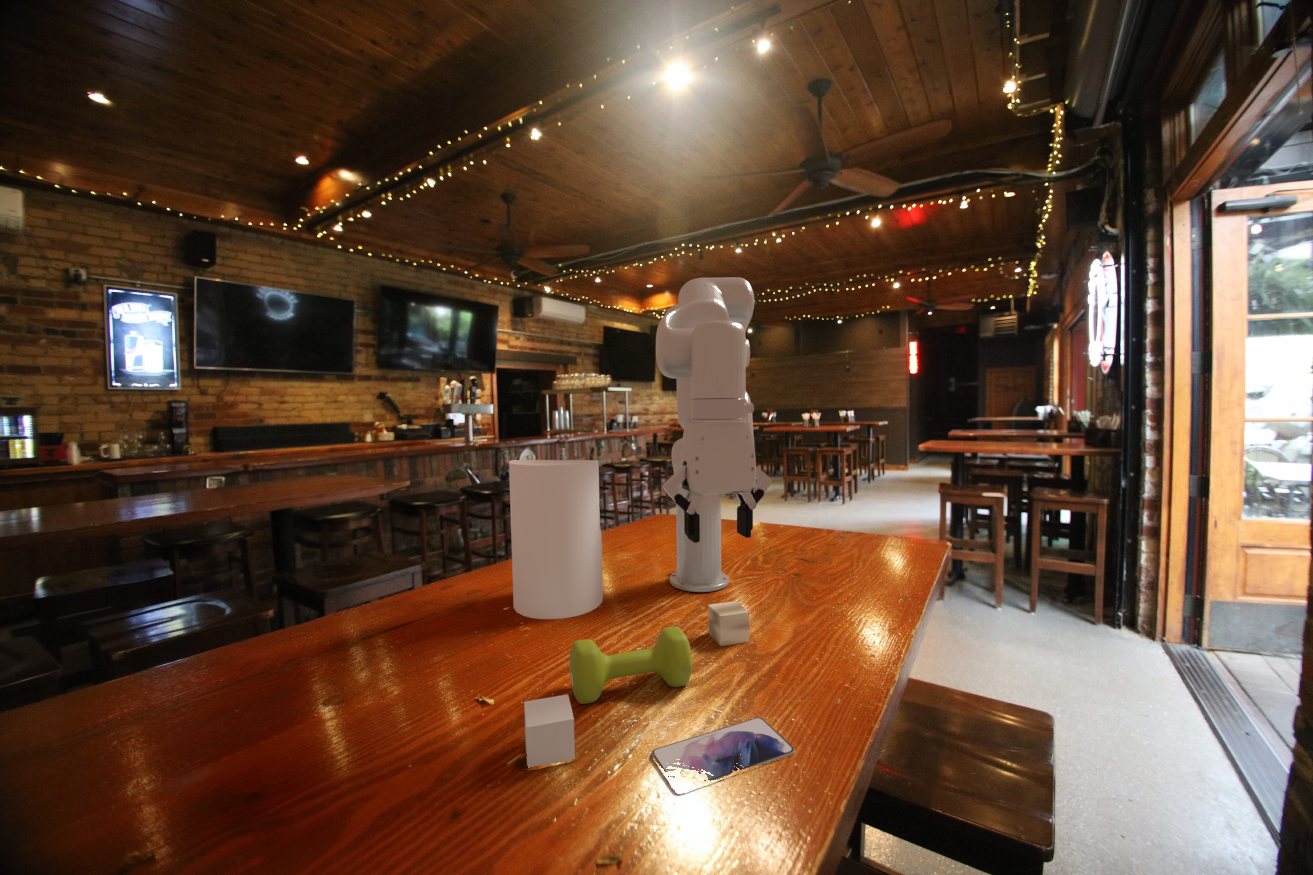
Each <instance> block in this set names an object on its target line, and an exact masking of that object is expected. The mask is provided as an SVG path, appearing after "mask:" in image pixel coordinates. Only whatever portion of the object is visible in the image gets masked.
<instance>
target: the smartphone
mask: <svg viewBox="0 0 1313 875" xmlns="http://www.w3.org/2000/svg"><path fill="white" fill-rule="evenodd" d="M794 753H795V754H796V749H795V747H794V746H793V745H792V744H791V743H790V742H788V740H786V739H785V738H784V737H783V735H781V734H780V733H779V732H778V731H777V730H776V729H775V728H774V727H773V726H771V725H770V724H769V723H768V721H766V719H764V718H763V717H754V718H751V719H748V720H744V721H741V722H738V723H734V724H731V725H728V726H724V727H721V728H718V729H716V730H715V729H714V730H711V731H709V732H705V733H702V734H699V735H695V736H692V737H690V738H689V737H688V738H686V739H683V740H679V741H676V742H673V743H669V744H666V745H663V746H662V745H661V746H659V747H655V748H654V749H653V750H652V751H651V753H650V756H651V755H652V757H653V758H654V759H655V761H656V762H657V763H658V764H659V766H661V768H663V769H664V771H665V772H668V771H674V770H676V769H666V768H667V767H668V766H672V767H677V768H678V767H679V768H684V769H689V770H696V771H699V772H698V773H699V774H701V772H703V771H701V769H703V770H705V771H706V772H710V773H711V774H713V775H714V776H711V775H709V774H707V773H705V774H706V775H707V777H708V780H710V781H711V780H716V779H717V780H718V779H720V778H723V777H724V776H728V775H730V774H731V773H732V772H733V771H732V770H734V771H737V770H738V769H737V768H739V769H740V770H742V769H746V768H750V767H753V766H758V765H759V766H760V765H764V764H767V763H769V762H773V761H775V760H778V759H782V758H784V757H787V758H789V757H788V756H790V755H791V754H794ZM740 754H741V755H740ZM795 754H794V755H795ZM652 757H651V758H652ZM790 757H791V756H790ZM741 758H742V759H741ZM676 759H680V760H676ZM784 759H785V758H784ZM782 760H783V759H782ZM677 762H679V763H681V764H680V765H677V764H673V763H677ZM667 763H668V764H667ZM683 763H684V764H683ZM736 763H738V764H736ZM773 763H774V762H773ZM683 765H685V766H683ZM686 765H687V766H686ZM740 765H742V766H743V767H744V768H743V767H742V766H740ZM688 766H689V767H688ZM734 766H735V767H734ZM692 767H694V768H692ZM736 767H737V768H736ZM698 769H699V770H698ZM681 771H682V770H681ZM700 771H701V772H700ZM680 773H681V772H680ZM668 777H669V776H668ZM670 777H673V778H675V776H670ZM704 781H706V780H704Z"/></svg>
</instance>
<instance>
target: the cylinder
mask: <svg viewBox="0 0 1313 875" xmlns="http://www.w3.org/2000/svg"><path fill="white" fill-rule="evenodd" d="M599 463H600V462H599V460H597V459H596V460H595V459H594V460H593V459H585V460H583V459H512V460H509V461H508V472H509V474H508V475H509V476H508V477H509V479H508V480H509V501H510V502H509V503H510V504H509V505H510V533H511V535H510V536H511V538H510V539H511V540H510V541H511V559H512V560H511V565H512V568H511V570H512V572H511V573H512V595H513V596H512V599H513V602H512V603H513V609H514V611H515V612H516V613H518V614H520V616H521V615H522V616H523V617H526V618H530V619H538V620H560V619H568V618H574V617H578V616H581V615H585V614H587V613H590V612H593V610H594V611H595V609H597V608H599V607H600V605H601V604H603V601H604V594H603V593H604V588H603V586H604V584H603V581H604V580H603V542H602V536H603V535H602V532H603V531H602V529H601V525H600V523H601V522H600V521H601V520H600V519H601V518H600V517H601V515H600V513H601V512H600V471H599V467H600V466H599V465H600V464H599Z"/></svg>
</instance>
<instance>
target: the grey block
mask: <svg viewBox="0 0 1313 875" xmlns="http://www.w3.org/2000/svg"><path fill="white" fill-rule="evenodd" d="M523 703H524V704H523V706H524V710H523V711H524V735H525V736H524V738H525V742H526V743H525V755H526V754H527V756H526V766H528V768H530V767H534V766H540V765H547V764H551V763H558V762H563V761H568V760H571V759H575V760H576V756H575V755H576V751H575V744H576V743H575V718H574V713H573V710H572V709H573V708H572V705H571V701H570V696H569V694H567V693H566V694H561V695H557V696H549V697H544V698H540V699H539V698H538V699H532V700H527V701H524V702H523Z"/></svg>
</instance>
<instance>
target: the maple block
mask: <svg viewBox="0 0 1313 875" xmlns="http://www.w3.org/2000/svg"><path fill="white" fill-rule="evenodd" d="M707 605H708V606H707V608H708V609H707V610H708V611H707V612H708V614H707V615H708V634H709V635H710V637H712V639H714V641H715V642H716V643H717V644H718V645H719V647H724V646H731V645H737V644H744V643H749V642H750V612H749V611H748V610H747V609H746V608H745V607H743V606H742V605H741V604H740V603H739V602H737V601H736V600H733V601H727V602H720V603H712V604H707Z"/></svg>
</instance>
